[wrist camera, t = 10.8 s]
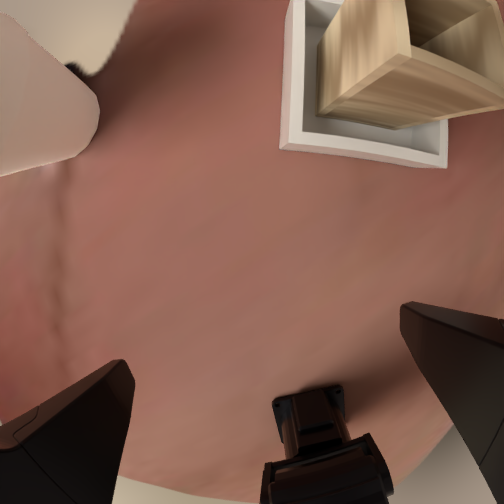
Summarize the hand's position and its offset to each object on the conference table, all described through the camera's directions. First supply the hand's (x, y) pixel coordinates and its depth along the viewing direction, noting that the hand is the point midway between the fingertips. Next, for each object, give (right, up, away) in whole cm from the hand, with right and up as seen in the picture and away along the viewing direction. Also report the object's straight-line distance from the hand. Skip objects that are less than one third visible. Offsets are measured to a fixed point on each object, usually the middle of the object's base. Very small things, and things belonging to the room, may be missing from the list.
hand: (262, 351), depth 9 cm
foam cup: (-15, +13, +10) cm, 22 cm away
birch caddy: (+7, +14, +9) cm, 18 cm away
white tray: (+7, +15, +10) cm, 19 cm away
